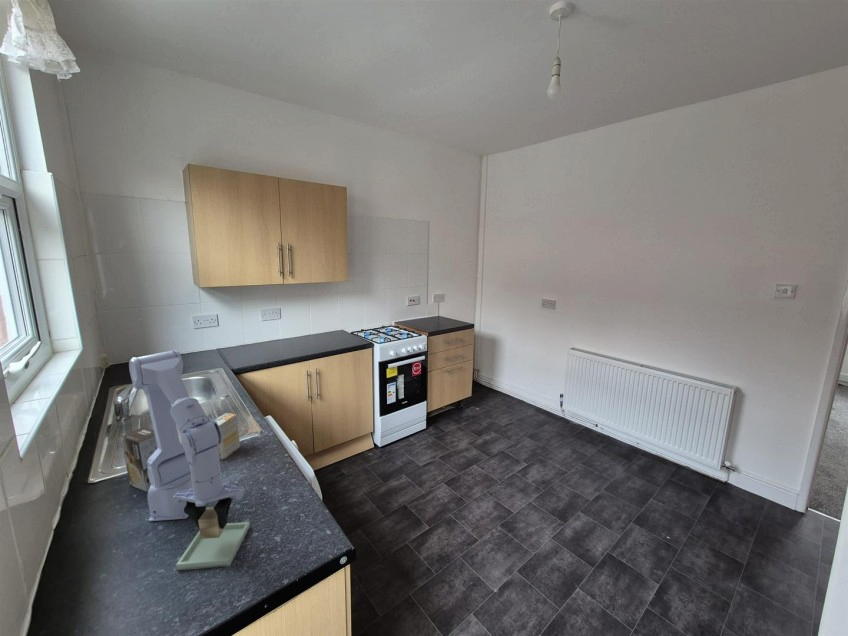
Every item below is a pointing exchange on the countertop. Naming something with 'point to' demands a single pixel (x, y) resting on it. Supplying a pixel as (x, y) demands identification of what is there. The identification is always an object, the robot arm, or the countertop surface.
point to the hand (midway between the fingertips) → (213, 526)
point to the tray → (214, 548)
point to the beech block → (209, 524)
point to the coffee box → (139, 456)
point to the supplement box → (228, 434)
